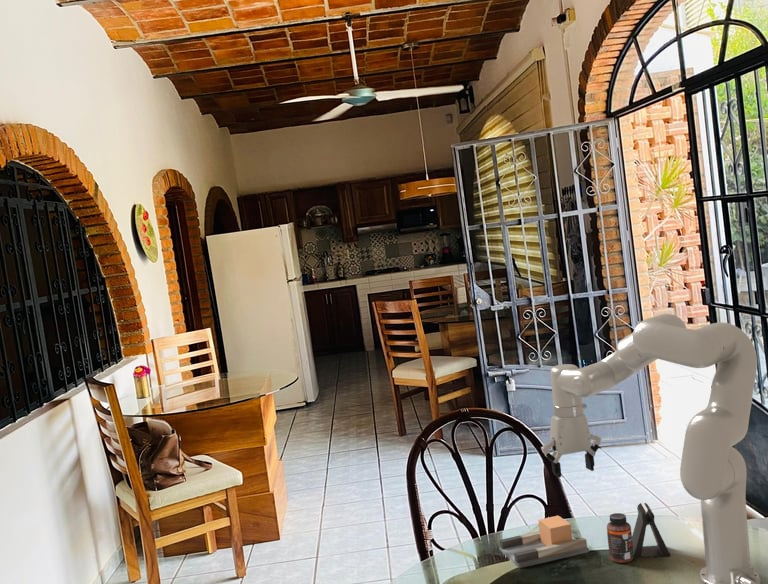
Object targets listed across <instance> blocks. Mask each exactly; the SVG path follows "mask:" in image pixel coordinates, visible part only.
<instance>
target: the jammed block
mask: <svg viewBox="0 0 768 584" xmlns="http://www.w3.org/2000/svg"><path fill="white" fill-rule="evenodd" d="M537 521H538V531H540V541H541V542H542V543H543V544H545V545H546V546H548V545H553V544H557V543H561V542H566V541H570V540H572V536H573V533H572V526H571V525H572V524H571V523H570V522H568V521H567V520H566V519H564V518H562V517H561V516H559V515H555V516H550V517H545V518H540V519H538V520H537Z"/></svg>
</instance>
